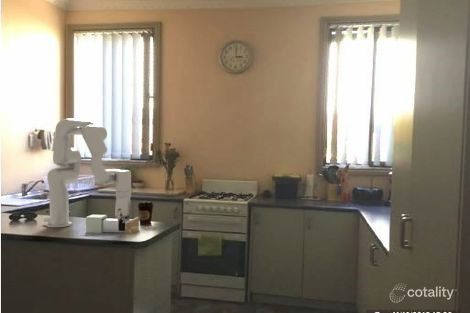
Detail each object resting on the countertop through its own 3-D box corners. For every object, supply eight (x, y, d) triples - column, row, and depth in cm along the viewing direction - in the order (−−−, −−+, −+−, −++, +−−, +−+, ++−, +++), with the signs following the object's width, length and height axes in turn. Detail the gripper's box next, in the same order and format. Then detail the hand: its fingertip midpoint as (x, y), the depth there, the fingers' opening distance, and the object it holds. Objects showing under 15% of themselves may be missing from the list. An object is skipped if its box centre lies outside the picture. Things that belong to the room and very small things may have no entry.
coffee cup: (149, 227, 228) (149, 203, 227) (135, 226, 229) (135, 202, 229) (155, 223, 236) (155, 200, 236) (141, 223, 238) (141, 200, 237)
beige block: (125, 234, 211) (125, 220, 211) (131, 230, 220) (131, 216, 220) (132, 234, 210) (132, 220, 210) (139, 230, 219) (138, 217, 219)
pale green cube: (86, 232, 214) (86, 217, 214) (92, 229, 221) (92, 214, 221) (101, 232, 213) (101, 217, 213) (107, 229, 220) (106, 214, 220)
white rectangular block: (99, 231, 215) (99, 220, 215) (103, 229, 219) (103, 218, 219) (131, 232, 213) (131, 220, 213) (134, 230, 217) (134, 219, 217)
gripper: (122, 192, 224) (122, 226, 224) (109, 196, 207) (109, 233, 208) (136, 192, 223) (136, 226, 224) (124, 196, 206) (124, 233, 207)
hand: (123, 229), depth 216 cm, fingers closed on white rectangular block, 4 cm apart
